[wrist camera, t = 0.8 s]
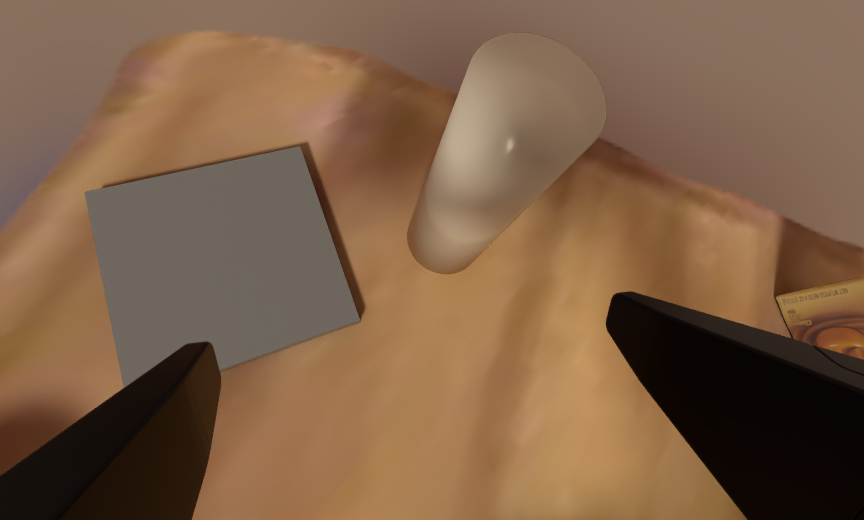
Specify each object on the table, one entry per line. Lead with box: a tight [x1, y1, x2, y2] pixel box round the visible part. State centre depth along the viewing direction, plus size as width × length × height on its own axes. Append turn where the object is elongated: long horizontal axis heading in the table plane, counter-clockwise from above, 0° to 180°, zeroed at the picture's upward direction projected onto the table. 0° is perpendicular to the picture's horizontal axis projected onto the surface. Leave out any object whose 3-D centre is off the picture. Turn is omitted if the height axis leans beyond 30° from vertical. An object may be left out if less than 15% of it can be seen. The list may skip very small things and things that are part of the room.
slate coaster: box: [85, 146, 360, 388], centre depth 21 cm, size 11×11×1 cm
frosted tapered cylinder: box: [407, 32, 607, 274], centre depth 18 cm, size 5×5×13 cm
